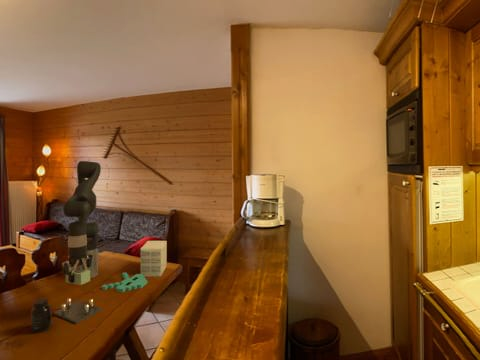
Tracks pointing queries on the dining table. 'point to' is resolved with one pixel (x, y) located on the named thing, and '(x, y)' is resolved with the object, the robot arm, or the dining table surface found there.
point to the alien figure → (128, 283)
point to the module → (80, 276)
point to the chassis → (77, 311)
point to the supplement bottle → (40, 316)
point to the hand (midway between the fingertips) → (77, 279)
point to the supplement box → (153, 258)
